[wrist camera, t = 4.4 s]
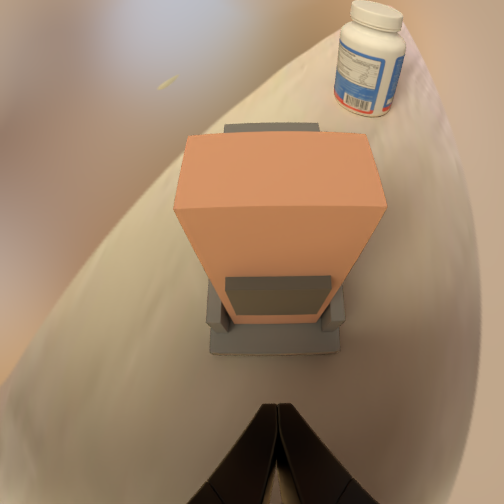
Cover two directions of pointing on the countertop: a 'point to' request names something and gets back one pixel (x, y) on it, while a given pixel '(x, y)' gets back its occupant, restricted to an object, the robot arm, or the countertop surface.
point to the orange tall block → (278, 217)
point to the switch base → (273, 335)
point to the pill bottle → (369, 59)
